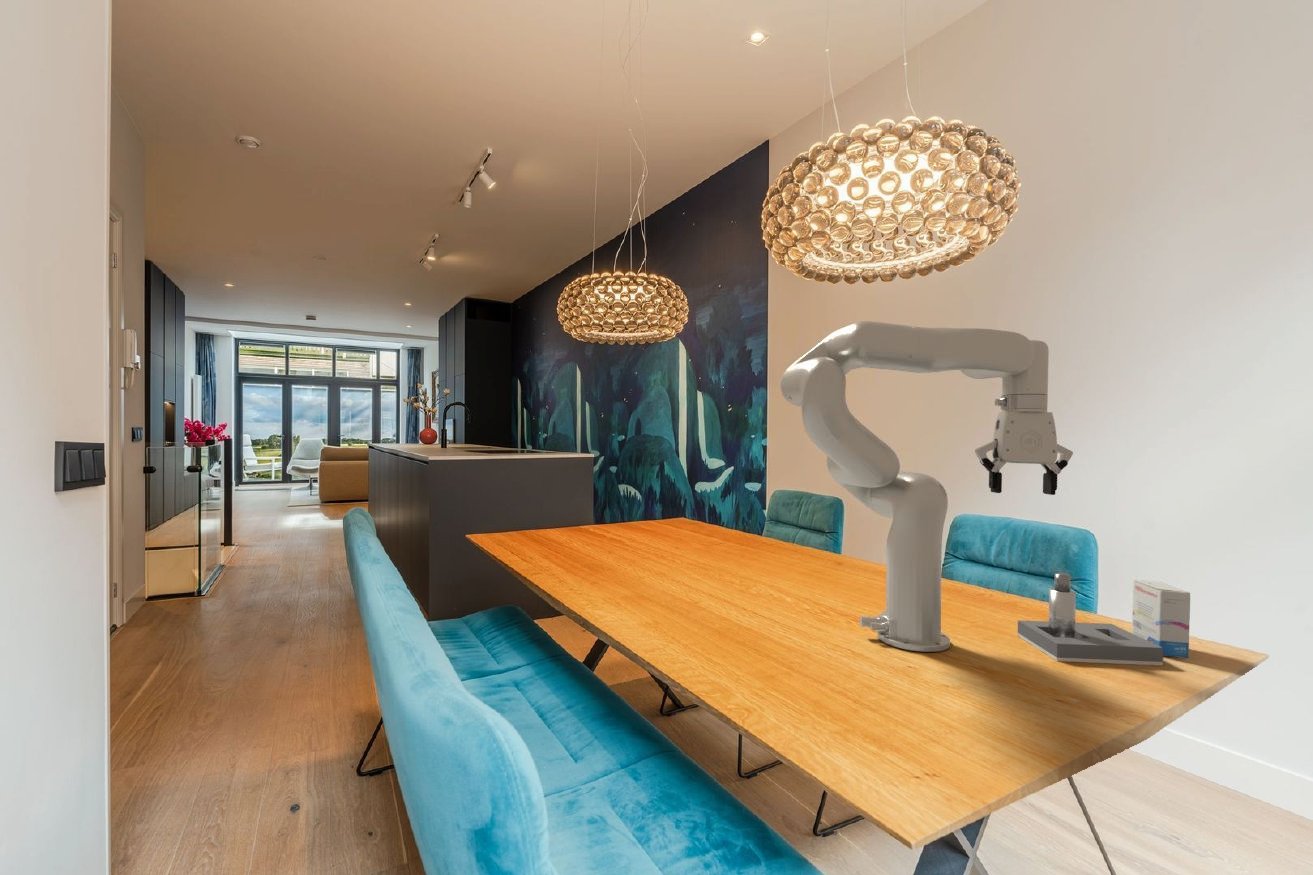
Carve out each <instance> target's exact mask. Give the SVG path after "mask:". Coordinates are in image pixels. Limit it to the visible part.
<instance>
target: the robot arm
mask: <svg viewBox="0 0 1313 875" xmlns="http://www.w3.org/2000/svg"><path fill="white" fill-rule="evenodd" d="M859 368H860V369H861V368H868V369H878V370H890V371H899V372H905V373H906V372H907V373H913V374H914V373H916V374H921V373H923V374H925V373H928V374H929V373H941V372H949V371H950V372H951V371H960V372H961V373H962V374H963V375H965V376H966V377H968V378H971V379H975V380H987V379H996V378H997V379H998V378H1000V379H1001V380H1002V384H1001V387H1002V388H1001V396H1000V398H995V400H994V405H995V406H997V407H1000V410H1001V411H998V414H997V417H996V420H995V425H994V430H993V437H992V440H991V441H990V442H988V443H986V444H983V445H981V446H979V447H977V448H976V449H975V450H974V453H975V455H976V457H977V458H978V461H979V463H980V464H981V466H983V467H984V468H985V469H986V471H987V472H988V488H989V489H990V492H991V493H994V494H1001V493H1002V492H1003V490H1002V489H1003V482H1002V481H1003V473H1002V472H1001V471H1000V470H1001V469H1002V468H1003V467H1004V466H1005V465H1006V464H1007V463H1009V464H1028V465H1029V464H1033V465H1034V464H1035V465H1036V464H1037V465H1039V464H1040V466H1041V467H1042V468H1043V469H1044V470H1045V472H1044V473H1043V475H1042V494H1045V495H1050V496H1055V495H1056V491H1057V489H1058V475H1059V474H1061V472H1062V470H1063V469H1065V468H1066V467H1067V466H1068V464H1069V461H1070V460H1071V458H1072V457H1073V455H1074V452H1073V451H1072V450H1070V449H1068V448H1066V447H1065V446H1063V445H1060V444H1058V438H1057V430H1056V429H1057V428H1056V422H1055V419H1054V414H1053V412H1049V411H1048V398H1049V396H1048V395H1049V394H1048V393H1049V392H1048V390H1049V346H1048V344H1047V343H1046V342H1045V341H1042V340H1035V339H1033V340H1031V339H1029V338H1028V337H1027V336H1025V335H1024V334H1021V333H1018V332H1015V331H1009V330H1008V331H1007V330H1000V329H992V328H978V327H977V328H975V327H972V328H969V327H965V328H964V327H962V328H961V327H960V328H959V327H957V328H955V327H922V326H913V325H907V324H906V325H905V324H904V325H903V324H896V323H889V322H881V321H880V322H879V321H868V320H863V321H856V322H854V323H852V324H849V325H846V326H843V327H841V328H838V329H837V330H834V331H833V332H832V333H830V334H828V336H827V337H825V338H824V339H822V341H821V342H819V343H818V344H817V345H815V346H814V347H813V348H812V349H810V350H809V351H807V353H805V354H804V355H802V356H801V357H800V358H799V359H797V360H796V361H795V362H794V363H792V364H791V365H790V366H789V367H787V369H786V370H784V373H783V374H782V376H781V379H780V391H781V394H782V396H783V397H784V399H785V401H787V402H789V403H790V404H791V405H794V406H796V407H798V406H799V407H801V415H802V422H803V426H804V429H805V432H806V434H807V436H808V437H809V439H810V441H811V442H812V443H813V444H815V446H816V447H817V448H818V449H820V450H821V451H822V453H824V454H825V455H826V456H827V457H826V467H827V469H828V472H829V474H830V475H831V477H832V478H833V479H834V480H835V482H836V483H837V484H838V485H840V486H841V487H842V488H843V489H845V490H846V491H847V492H848V493H850V494H851V495H852V496H853V497H854V498H855V499H857V500H858V501H859V502H860V503H862V504H863V505H864V506H866V507H867V508H868V509H869V510H871V511H872V512H873V513H875V514H877V515H879V516H881V517H884V518H889V519H892V522H891V525H890V527H889V531H888V534H887V540H886V555H885V556H886V574H885V575H886V576H885V577H886V578H885V579H886V580H885V581H886V583H885V592H886V593H885V610H883V611H882V610H881V611H880V612H881V613H880V615H876V616H875V617H874V616H873V617H871V616H865V615H864V616H863V615H862V616H861V615H860V617H859V625H860V627H861V628H864V627H865V628H869V629H870V630H871V631H873V630H874V631H876V635H877V638H878V639H879V640H880V641H881V642H882V643H884V644H887V645H889V646H892V647H895V648H898V649H901V650H902V649H903V650H905V651H906V650H907V651H911V652H912V651H914V652H922V653H925V652H926V653H927V652H928V653H933V652H935V653H936V652H941V651H945V650H947V649H949V648H950V647H951V638H950V637H949V636H948V635H946V634H945V633H943V632H942V555H943V554H942V552H943V551H942V547H943V546H942V545H943V534H944V533H943V532H944V526H945V521H946V517H947V512H948V507H949V501H948V494H947V492H946V489H945V488H944V486H943V484H941V482H940V481H939V480H937V479H936V478H934V477H933V476H930V475H928V474H925V473H921V472H912V471H911V472H910V471H900V469H901V467H900V466H901V465H900V460H899V457H898V456H897V454H896V452H895V451H894V449H892V447H890V445H889V444H887V443H886V442H885V441H884V440H882V439H881V438H879V437H878V436H877V435H876V434H875V433H874V432H872V431H871V430H870V429H869V428H867V426H865V425H864V424H862V423H861V422H860V421H859V420H858V419H857V418H856V417H855V416H854V415H853V414H852V412H851V411H850V410H849V408H848V405H847V404H848V403H847V399H846V398H847V397H846V386H847V378H846V375H847V374H848V373H849V372H850V371H852V370H856V369H859ZM991 451H992V452H991ZM988 452H991V453H992V458H993V460H992V461H991V460H990V459H989V458H988V455H987V453H988ZM1058 454H1059V458H1058ZM1057 459H1058V460H1057Z"/></svg>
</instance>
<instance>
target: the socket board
mask: <svg viewBox="0 0 1313 875" xmlns="http://www.w3.org/2000/svg"><path fill="white" fill-rule="evenodd" d="M1017 637H1019V638H1020V639H1022V640H1023V641H1025V642H1027V644H1030V645H1031V646H1033V647H1034V648H1036V649H1038V650H1039V651H1040V652H1042V653H1044V654H1045V655H1046V656H1048V657H1050V658H1052V659H1053V660H1055V661H1056V662H1071V663H1075V662H1076V663H1091V664H1093V663H1094V664H1095V663H1096V664H1115V665H1116V664H1118V665H1119V664H1120V665H1142V666H1143V665H1144V666H1164V656H1163V648H1162V647H1160V646H1158V645H1156V644H1154V643H1152V642H1149V641H1147V640H1145V639H1143V638H1141V637H1139V636H1136V635H1134V634H1132V632H1130V631H1128V630H1125V629H1123V628H1122V627H1119V626H1117V625H1115V624H1112V623H1104V622H1103V623H1100V622H1099V623H1098V622H1097V623H1096V622H1077V621H1075V638H1063V637H1053V636H1052V635H1050V634H1049V620H1047V621H1046V620H1043V621H1042V620H1017Z"/></svg>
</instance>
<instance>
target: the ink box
mask: <svg viewBox="0 0 1313 875" xmlns="http://www.w3.org/2000/svg"><path fill="white" fill-rule="evenodd" d="M1132 588H1133V589H1132V590H1133V591H1132V592H1133V593H1132V594H1133V595H1132V619H1131V620H1132V621H1131V623H1132V624H1131V633H1132V634H1134V635H1136V636H1139V637H1141V638H1143V639H1145V640H1147V641H1149V642H1152V643H1154V644H1156V645H1158V646H1160V647H1162V648H1163V657H1173V658H1187V659H1188V658H1189V655H1190V654H1189V652H1190V651H1189V650H1190V649H1189V647H1190V619H1191V618H1190V614H1191V592H1190V591H1187V590H1184V589H1181V588H1178V587H1176V586H1173V585H1170V584H1167V583H1164V582H1163V581H1153V580H1142V579H1134V580H1133V587H1132Z"/></svg>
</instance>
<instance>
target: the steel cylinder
mask: <svg viewBox="0 0 1313 875" xmlns="http://www.w3.org/2000/svg"><path fill="white" fill-rule="evenodd" d="M1076 595H1077V594H1076V591H1074V590H1071V574H1069V573H1064V572H1054V587H1051V588H1048V621H1049V634H1050V635H1052V636H1053V637H1063V638H1075V622H1076V608H1077V607H1076V606H1077V605H1076V604H1077V603H1076V602H1077V601H1076V600H1077V599H1076V598H1077V597H1076Z"/></svg>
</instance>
